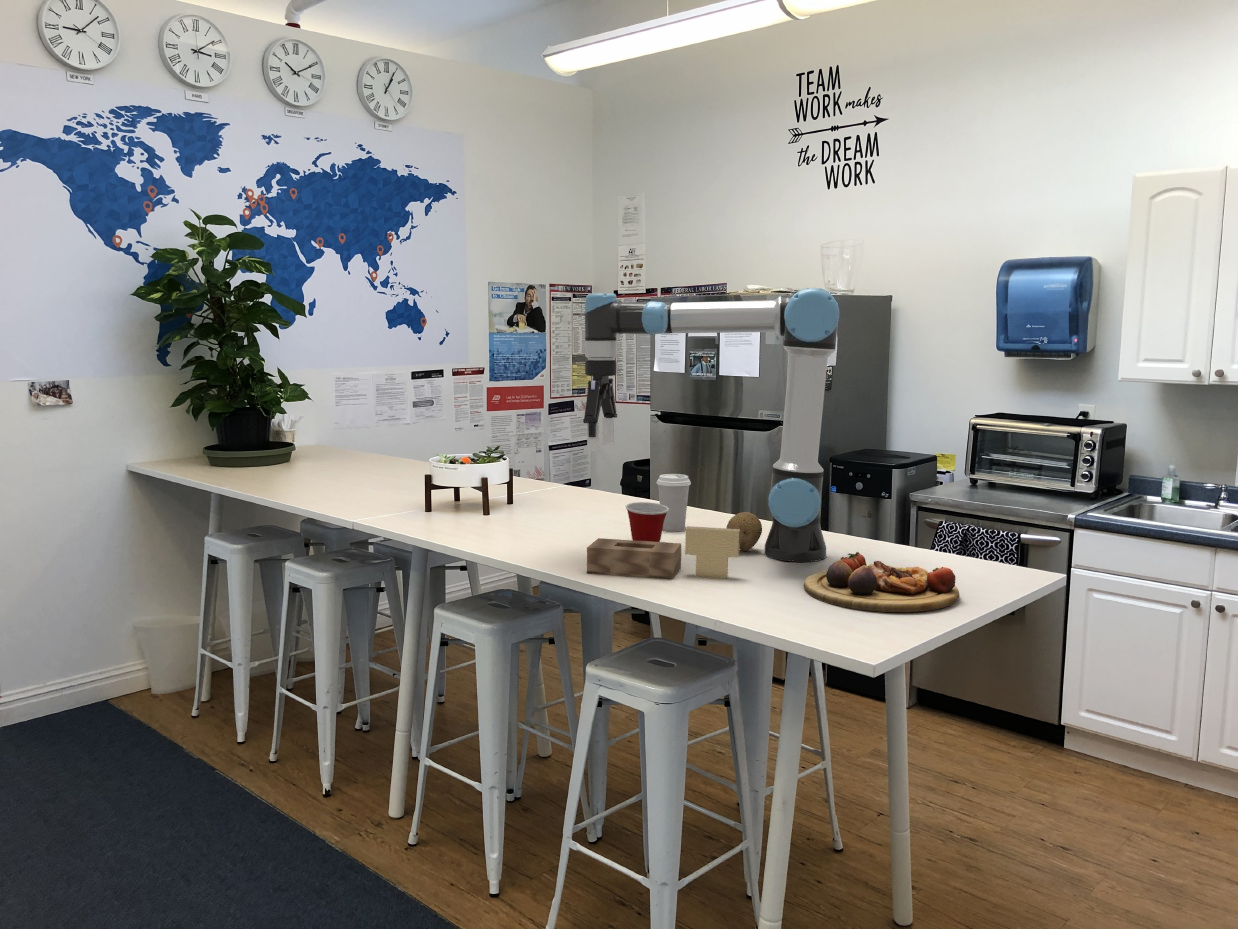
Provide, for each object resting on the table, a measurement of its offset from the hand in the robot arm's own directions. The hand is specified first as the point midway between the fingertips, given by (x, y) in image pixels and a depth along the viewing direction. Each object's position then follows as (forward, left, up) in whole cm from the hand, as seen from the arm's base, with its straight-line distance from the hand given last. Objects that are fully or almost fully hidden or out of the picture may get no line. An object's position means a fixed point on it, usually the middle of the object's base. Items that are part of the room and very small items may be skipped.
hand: (600, 447), depth 232 cm
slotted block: (-11, +12, -27) cm, 31 cm away
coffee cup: (-11, -36, -27) cm, 47 cm away
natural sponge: (-33, -15, -27) cm, 46 cm away
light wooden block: (-29, +12, -27) cm, 41 cm away
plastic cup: (-10, -6, -27) cm, 30 cm away
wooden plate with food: (-66, +15, -28) cm, 73 cm away
